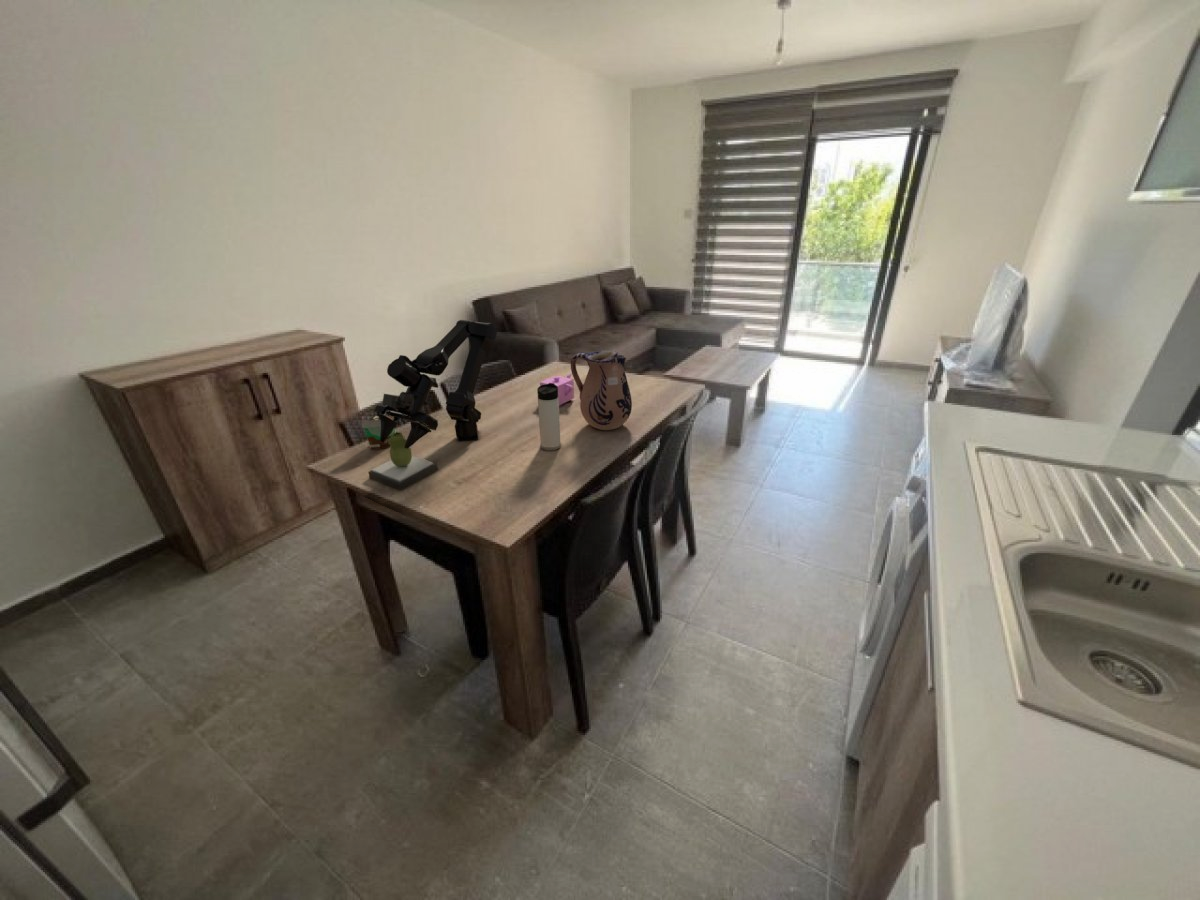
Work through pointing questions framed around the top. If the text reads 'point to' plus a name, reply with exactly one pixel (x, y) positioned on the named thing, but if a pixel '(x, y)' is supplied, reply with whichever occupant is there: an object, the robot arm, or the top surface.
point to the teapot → (562, 387)
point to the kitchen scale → (402, 472)
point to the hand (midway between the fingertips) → (393, 444)
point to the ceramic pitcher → (603, 389)
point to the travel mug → (549, 416)
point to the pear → (399, 450)
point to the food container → (375, 433)
